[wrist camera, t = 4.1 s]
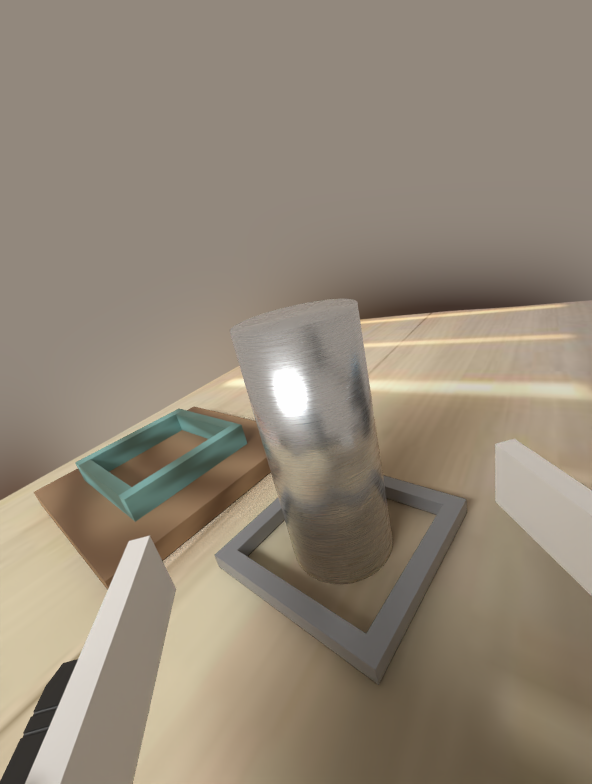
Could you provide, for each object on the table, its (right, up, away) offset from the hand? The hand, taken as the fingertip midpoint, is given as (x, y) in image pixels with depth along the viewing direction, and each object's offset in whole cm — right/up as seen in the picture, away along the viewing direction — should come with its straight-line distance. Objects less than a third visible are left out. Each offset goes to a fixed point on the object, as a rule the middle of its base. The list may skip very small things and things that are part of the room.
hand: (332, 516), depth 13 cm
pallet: (-13, -3, +20) cm, 24 cm away
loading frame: (+2, -4, +8) cm, 10 cm away
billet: (+2, -4, +8) cm, 10 cm away
